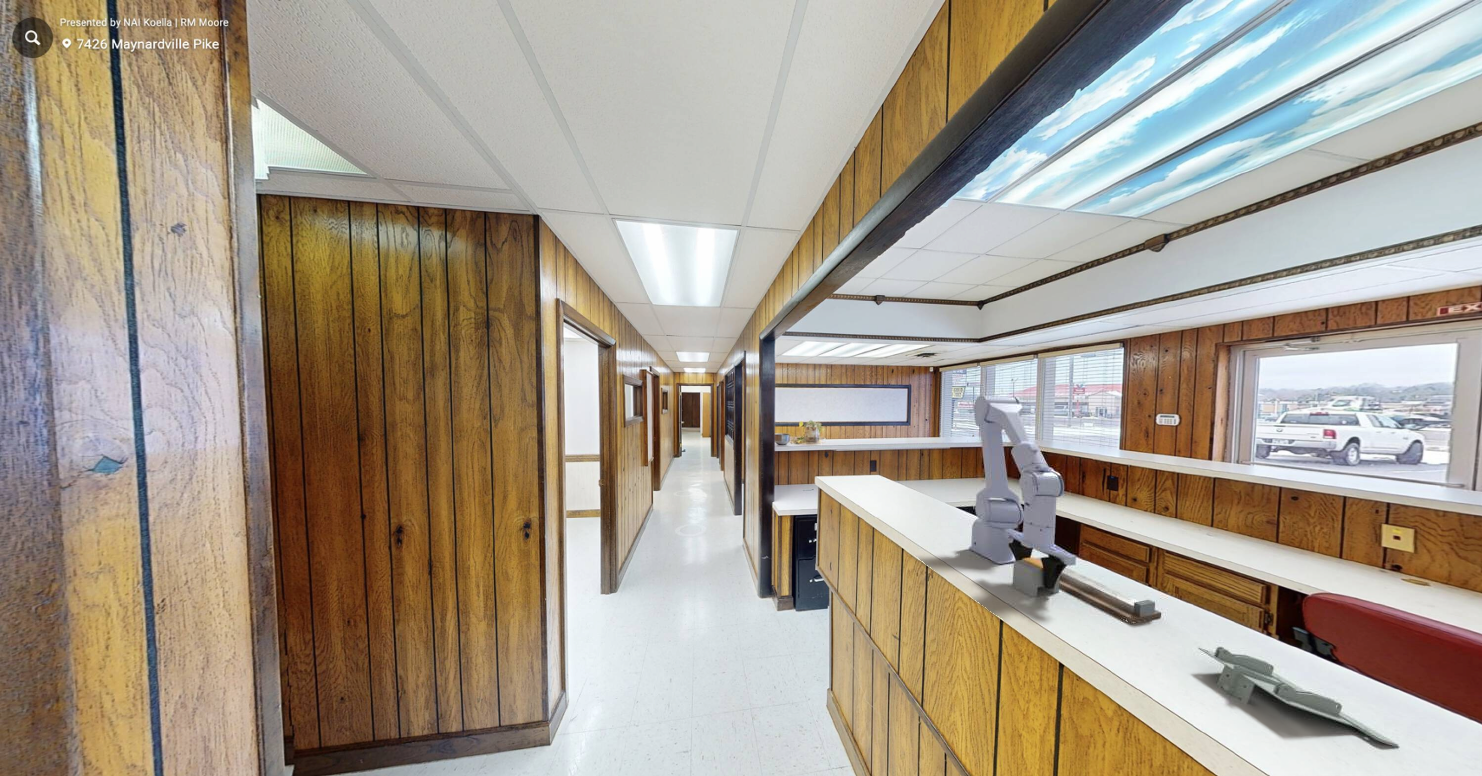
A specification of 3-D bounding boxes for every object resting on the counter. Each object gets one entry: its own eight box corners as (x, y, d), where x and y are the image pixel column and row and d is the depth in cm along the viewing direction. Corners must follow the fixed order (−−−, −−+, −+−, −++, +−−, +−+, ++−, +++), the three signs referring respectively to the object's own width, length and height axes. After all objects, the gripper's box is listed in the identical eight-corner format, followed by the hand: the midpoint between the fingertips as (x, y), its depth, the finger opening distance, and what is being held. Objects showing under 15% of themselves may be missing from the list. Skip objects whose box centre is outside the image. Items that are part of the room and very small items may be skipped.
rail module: (1012, 586, 89) (1013, 559, 88) (1039, 582, 91) (1040, 556, 90) (1031, 597, 84) (1032, 569, 84) (1059, 592, 86) (1060, 565, 86)
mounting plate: (1039, 577, 93) (1039, 573, 93) (1065, 573, 95) (1066, 569, 95) (1130, 623, 76) (1131, 618, 76) (1161, 617, 78) (1161, 612, 78)
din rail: (1045, 571, 94) (1046, 561, 94) (1059, 569, 95) (1059, 560, 95) (1139, 617, 76) (1140, 605, 76) (1154, 614, 77) (1155, 602, 77)
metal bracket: (1305, 700, 51) (1183, 627, 66) (1289, 739, 52) (1171, 658, 67) (1414, 738, 51) (1266, 655, 66) (1398, 777, 51) (1253, 686, 66)
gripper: (996, 513, 93) (993, 567, 93) (1059, 537, 79) (1056, 601, 79) (1018, 511, 95) (1015, 564, 95) (1084, 534, 81) (1080, 597, 81)
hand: (1035, 581), depth 87 cm, fingers open, 5 cm apart
